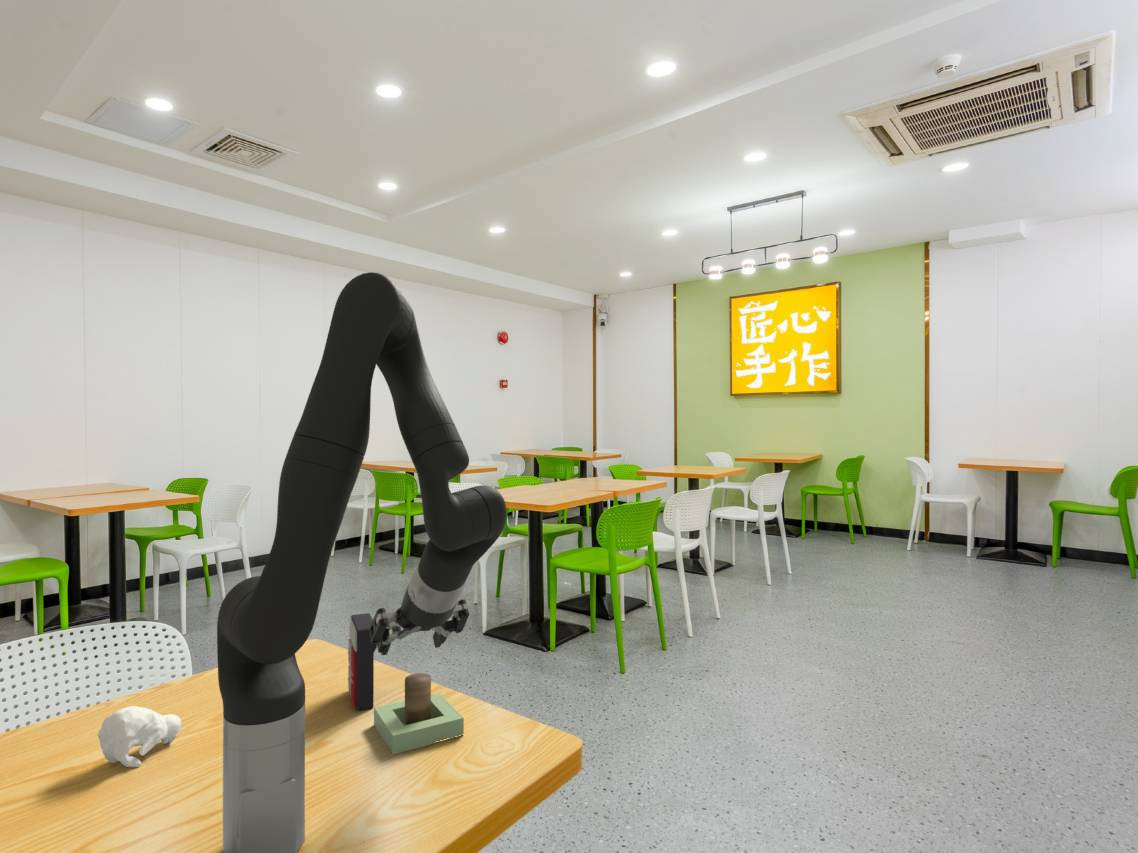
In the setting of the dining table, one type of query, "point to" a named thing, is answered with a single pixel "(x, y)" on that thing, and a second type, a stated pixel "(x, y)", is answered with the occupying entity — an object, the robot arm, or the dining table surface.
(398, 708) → the socket block
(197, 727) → the dining table surface
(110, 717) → the white animal figurine
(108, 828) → the dining table surface
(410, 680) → the walnut pin
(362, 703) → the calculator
